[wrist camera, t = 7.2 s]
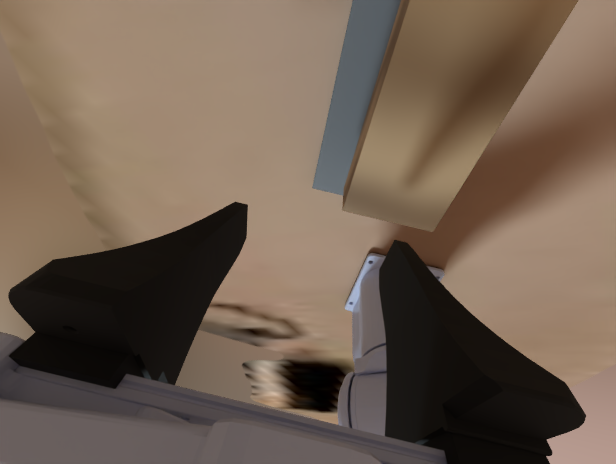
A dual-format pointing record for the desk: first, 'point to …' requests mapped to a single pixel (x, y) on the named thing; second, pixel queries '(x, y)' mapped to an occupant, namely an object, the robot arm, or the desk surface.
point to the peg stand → (353, 89)
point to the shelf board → (443, 101)
